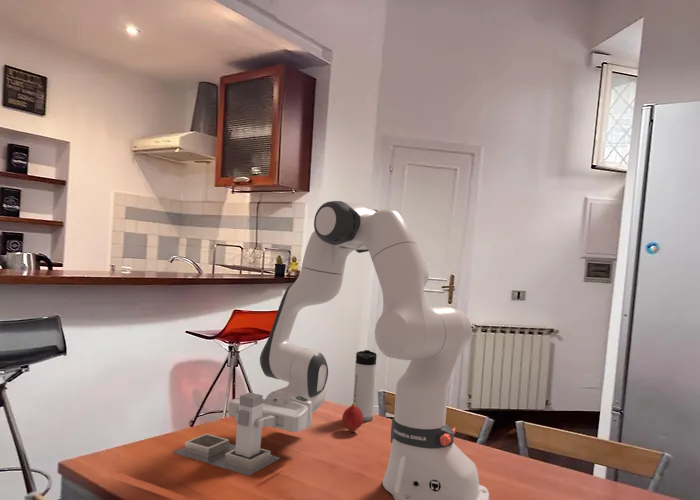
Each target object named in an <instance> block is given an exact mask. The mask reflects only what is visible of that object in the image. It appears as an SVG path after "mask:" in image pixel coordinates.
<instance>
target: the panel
mask: <svg viewBox="0 0 700 500" xmlns="http://www.w3.org/2000/svg"><path fill="white" fill-rule="evenodd" d="M235 446H236V444H232V443H230V439H229V438H224V437H220V436H217V435H213V434H210V433H203V434H202V435H199V436H196V437H194V438H192V439H188V440H187V441H185V442H184V447H182V448H180V449H177V450H174V451H172V453H173V454H176V455H180V456H182V457H187V458H189V459H192V460H196V461H199V462H202V463H206V464H209V465H212V466H216V467H218V468H222V469H226V470H228V471H232V472H235V473H239V474H241V475H245V476H248V477H249V476H251V475H253V474H255V473H257V472H258V471H260V470H262V469H265V468H267V466H270V465H271V464H273V463H276V462H277V461H279V460H280V459H281V457H279V456H277V455H273V454H271V452H272V451H271V450H269V449H264V448H261V447H260V452H259V453H257V454H255V455H253V456H251V457H246V456H242V455H239V454H236V453H235Z"/></svg>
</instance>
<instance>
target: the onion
mask: <svg viewBox="0 0 700 500" xmlns="http://www.w3.org/2000/svg"><path fill="white" fill-rule="evenodd" d="M342 424H343V425H344V427H345V428H346V429H347V430H348V431H349V432H351V433H354V432H355V431H357V430H358V429H359V428H361V427H362V425H363V424H364V421H363V414H362V412H361V410H360V409H359V408H358V407H356V404H355V403H353V402H352V405H350V406H349V407H347V408H346V409H345V410H344V412H343V414H342Z"/></svg>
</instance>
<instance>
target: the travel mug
mask: <svg viewBox="0 0 700 500" xmlns="http://www.w3.org/2000/svg"><path fill="white" fill-rule="evenodd" d="M377 357H378V356H377V353H376V352H373V351H371V350H369V349H364V350H360V351H357V352H356V353H355V368H354V383H353V399H352V404H353V403H355V404H356V407H358V408H359V409H360V410H361V412H362V414H363V422H371V421H372V420H373V418H374V408H375V407H374V405H375V404H374V403H375V389H376V388H375V387H376V376H377V375H376V373H377V372H376V371H377Z"/></svg>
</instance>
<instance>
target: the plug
mask: <svg viewBox="0 0 700 500" xmlns="http://www.w3.org/2000/svg"><path fill="white" fill-rule="evenodd" d="M263 397H264V396H263V395H262V394H257V393H254V392H248V393H245V394H241V395H240V396H239V398H240V404H239V405H238V416H237V422H236V431H235V433H236V434H235V445H236V446H235V453H236V454H239V455H242V456H246V457H251V456H253V455H255V454H257V453H259V452H260V448H261V444H262V430H263V427H262V428H257V427H255V426H254V424H255V420H256V419H258V418H262V416H263V404H262V399H264V398H263Z"/></svg>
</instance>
